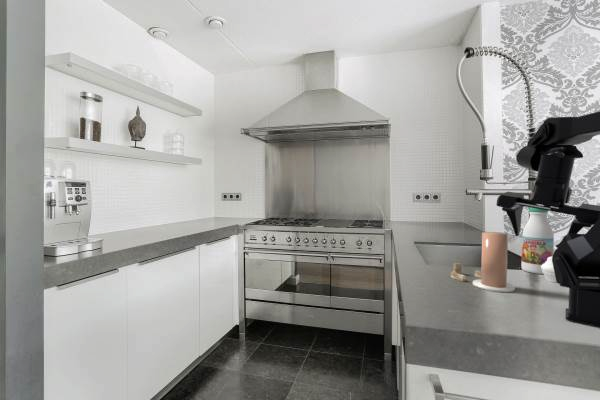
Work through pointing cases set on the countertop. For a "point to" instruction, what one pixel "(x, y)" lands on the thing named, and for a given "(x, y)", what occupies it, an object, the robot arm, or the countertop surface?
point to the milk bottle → (536, 241)
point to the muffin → (549, 270)
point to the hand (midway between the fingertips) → (540, 241)
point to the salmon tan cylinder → (494, 259)
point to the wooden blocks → (457, 273)
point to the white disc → (507, 289)
